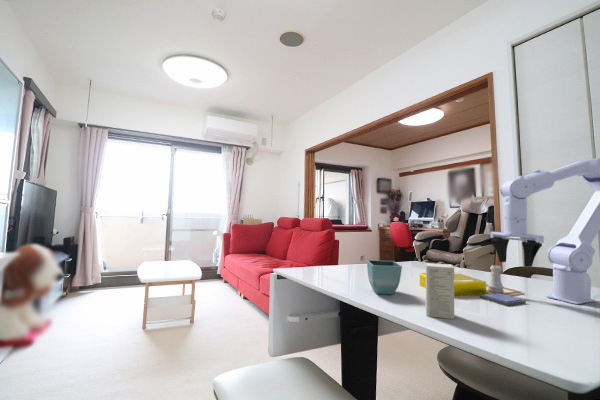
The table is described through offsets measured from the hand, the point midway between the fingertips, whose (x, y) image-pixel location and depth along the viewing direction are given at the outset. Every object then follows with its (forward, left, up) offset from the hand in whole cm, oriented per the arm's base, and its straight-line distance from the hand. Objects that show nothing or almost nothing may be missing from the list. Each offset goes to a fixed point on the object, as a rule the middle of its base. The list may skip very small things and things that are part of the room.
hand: (515, 264), depth 93 cm
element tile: (+12, -13, -11) cm, 20 cm away
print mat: (-1, -7, -10) cm, 12 cm away
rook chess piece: (+2, -5, -9) cm, 11 cm away
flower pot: (+36, -17, -10) cm, 41 cm away
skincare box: (+36, +4, -10) cm, 38 cm away
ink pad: (+8, +1, -10) cm, 13 cm away
